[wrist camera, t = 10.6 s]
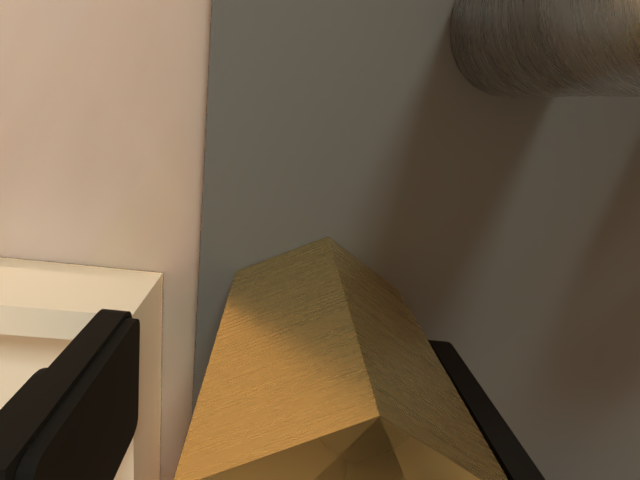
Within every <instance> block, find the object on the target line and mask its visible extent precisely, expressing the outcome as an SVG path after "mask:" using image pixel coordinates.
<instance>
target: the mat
mask: <svg viewBox="0 0 640 480" xmlns="http://www.w3.org/2000/svg"><path fill="white" fill-rule="evenodd" d="M454 1H455V0H212V11H211V31H210V52H209V73H208V94H207V115H206V136H205V157H204V178H203V199H202V220H201V240H200V261H199V282H198V303H197V324H196V345H195V366H194V387H193V408H192V416H193V413H194V410H195V406H196V403H197V400H198V396H199V393H200V390H201V386H202V383H203V380H204V376H205V373H206V369H207V366H208V363H209V359H210V356H211V353H212V349H213V346H214V343H215V339H216V336H217V333H218V329H219V326H220V323H221V319H222V316H223V312H224V309H225V306H226V302H227V299H228V296H229V292H230V289H231V286H232V282H233V279H234V276H235V272H236V271H238V270H240V269H243V268H246V267H248V266H251V265H254V264H256V263H259V262H261V261H264V260H267V259H269V258H272V257H275V256H277V255H280V254H283V253H285V252H288V251H291V250H293V249H296V248H298V247H301V246H304V245H306V244H309V243H312V242H314V241H317V240H320V239H322V238H325V237H329V238H331V239H332V240H333V241H335V242H336V243H337V244H339V245H340V246H341V247H342V248H344V249H345V250H346V251H348V252H349V253H350V254H352V255H353V256H354V257H356V258H357V259H358V260H360V261H361V262H362V263H363V264H365V265H366V266H367V267H369V268H370V269H371V270H373V271H374V272H375V273H377V274H378V275H379V276H381V277H382V278H383V279H384V280H386V281H387V282H388V283H390V284H391V285H392V286H394V287H395V288H396V289H398V290H399V291H400V293H401V295H402V297H403V298H404V300H405V302H406V304H407V305H408V307H409V309H410V310H411V312H412V314H413V316H414V317H415V319H416V321H417V323H418V324H419V326H420V328H421V330H422V331H423V333H424V335H425V336H426V338H427V340H436V341H447V342H450V343H451V344H452V345H453V347H454V348H455V349H456V351H457V352H458V354H459V355H460V357H461V358H462V360H463V361H464V362H465V364H466V365H467V367H468V368H469V370H470V371H471V373H472V374H473V375H474V377H475V378H476V380H477V381H478V383H479V384H480V386H481V387H482V388H483V390H484V391H485V393H486V394H487V396H488V397H489V399H490V400H491V402H492V403H493V404H494V406H495V407H496V409H497V410H498V412H499V413H500V415H501V416H502V417H503V419H504V420H505V422H506V423H507V425H508V426H509V428H510V429H511V430H512V432H513V433H514V435H515V436H516V438H517V439H518V441H519V442H520V443H521V445H522V446H523V448H524V449H525V451H526V452H527V454H528V455H529V456H530V458H531V459H532V461H533V462H534V464H535V465H536V467H537V468H538V470H539V471H540V472H541V474H542V475H543V477H544V478H545V480H640V97H498V96H493V95H489V94H487V93H484V92H482V91H480V90H478V89H477V88H475V87H474V86H473V85H471V84H470V83H469V82H468V81H467V80H466V79H465V78H464V76H463V75H462V74H461V72H460V71H459V69H458V67H457V65H456V63H455V61H454V58H453V55H452V52H451V46H450V38H449V25H450V17H451V12H452V8H453V4H454Z"/></svg>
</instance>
